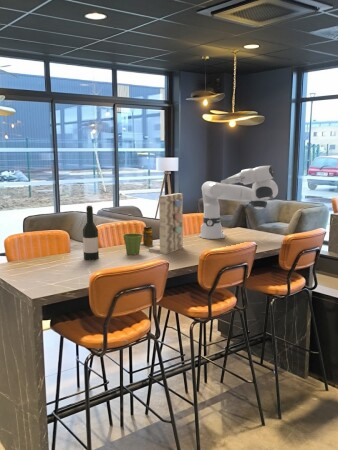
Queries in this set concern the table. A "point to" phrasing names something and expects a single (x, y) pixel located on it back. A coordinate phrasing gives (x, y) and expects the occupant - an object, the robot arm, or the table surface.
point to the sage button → (177, 230)
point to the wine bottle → (90, 237)
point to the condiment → (147, 237)
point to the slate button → (177, 203)
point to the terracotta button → (177, 216)
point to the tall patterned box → (169, 224)
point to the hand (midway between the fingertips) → (222, 181)
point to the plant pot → (132, 243)
